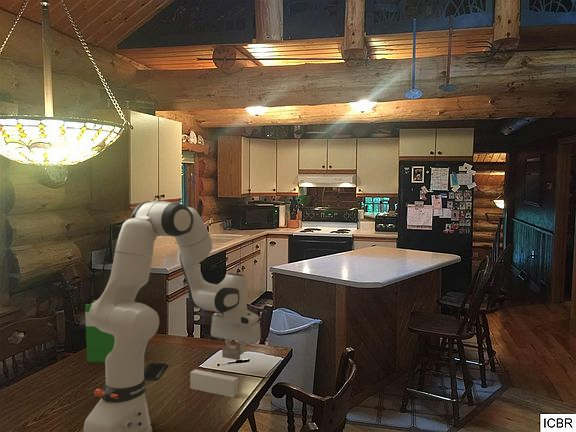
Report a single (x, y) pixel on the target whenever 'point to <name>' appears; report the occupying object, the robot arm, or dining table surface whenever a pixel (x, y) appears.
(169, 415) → the dining table surface
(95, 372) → the dining table surface
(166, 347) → the dining table surface
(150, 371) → the phone
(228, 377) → the white rectangular block
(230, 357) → the pusher
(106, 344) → the hardback book
